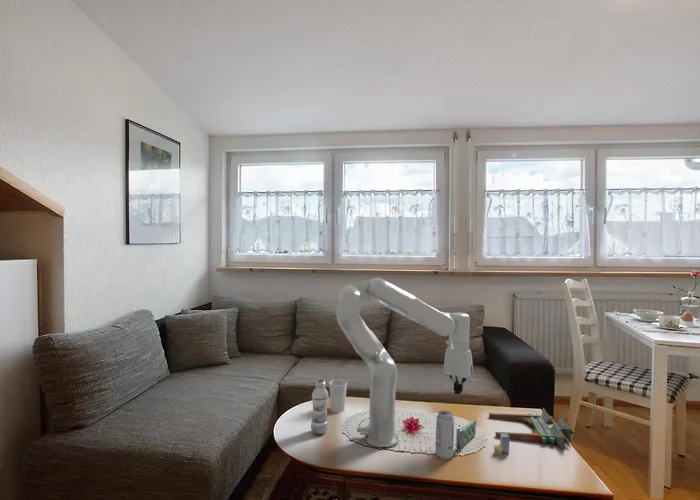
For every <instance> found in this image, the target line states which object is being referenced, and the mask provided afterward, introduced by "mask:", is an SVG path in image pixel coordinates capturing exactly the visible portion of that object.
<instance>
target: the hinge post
mask: <svg viewBox="0 0 700 500" xmlns="http://www.w3.org/2000/svg"><path fill="white" fill-rule="evenodd" d="M462 429H463V428H457V429H456V437H455V438H456V439H455V440H456V442H455V443H456V444H455V445H456V446H455V449H456V448H457V449H459V450H461V449H462V450H463V447H464V446H463V430H462ZM462 446H463V447H462Z"/></svg>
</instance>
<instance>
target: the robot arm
mask: <svg viewBox="0 0 700 500" xmlns="http://www.w3.org/2000/svg"><path fill="white" fill-rule="evenodd" d="M338 300H339V301H338V304H337V307H336V320H337V324H338V325H339V327H340V329H341V330H342V332H343V333H344V335H345V337H346V338H347V340H348V341H349V342H350V344H351V345H352V347H353V349H354V351H355V352H356V354H357V355H359V356H360V358H361V359H362V360H363V362H364V363H365V365H366V366H367V367H368V369H369V371H370V388H369V412H368V413H369V421H368V422H369V423H368V425H367V426H366V425H365V426H357V428H356V429H357V430H356V431H357V433H359V434H360V435H361V436H362V435H364V441H365V442H366V443H367V444H368V445H370V446H373V447H375V446H376V448H380V447H387V448H391V447H390V446H392V447H394V446H395V444H396V443H397V442H398V443H399V435H398V434H397V433H395V428H396V427H395V425H396V423H395V422H396V421H395V418H396V417H395V416H396V389H397V388H396V387H397V380H398V369H397V365H396V363H395V361H394V360H393V357H391V356H390V353H388V351H387V350H386V348H385V347H384V346H383V343H382V342H381V341H380V340H379V339H378V337H377V336H376V334H375V333H374V332H373V330H371V329H370V328H369V327H368V325H367V324H366V322H365V321H364V319H363V318H362V316H361V314H360V310H361V307H362V305H363V304H364V303H368V302H372V301H375V302H377V303H378V304H381V305H382V306H384V307H386V308H388V309H390V310H392V311H394V312H396V313H397V314H400V316H403V317H405V318H407V319H408V320H410V321H413V322H415V323H417V324H419V325H421V326H423V327H424V328H426V329H429V330H431V331H432V332H434V333H436V334H437V335H439V336H442V337H448V340H447V339H446V340H445V344H447V346H448V347H446V348H445V349H446V350H445V353H444V362H443V372H444V375H445V376H447V377H448V378H449V379H450V380H451V381H452V383H453V391H454V394H455V395H461V393H462V392H463V391H464V390H463V389H464V383H465V382H471V381H473V378H474V377H473V372H474V365H473V356H472V350H471V349H470V326H471V322H470V321H471V320H470V319H471V318H470V315H469V314H467V313H465V312H460V311H459V312H445V311H439V310H438V309H436V308H434V307H432V306H431V305H429V304H427V303H426V302H424V301H422V300H421V299H419V298H418V297H416V296H415V295H414V294H412V293H409V292H408V291H406V290H404V289H402V288H401V287H398V286H396V285H394V284H393V283H391V282H389V281H387V280H385V279H383V278H381V277H374V278H370V279H366V280H363V281H359V282H356V283H351V284H348V285H345V286H343V287H342V288H341V289H340V290H339V293H338ZM398 443H397V444H398ZM397 444H396V445H397ZM393 445H394V446H393Z"/></svg>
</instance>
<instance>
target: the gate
mask: <svg viewBox="0 0 700 500" xmlns="http://www.w3.org/2000/svg"><path fill="white" fill-rule="evenodd" d="M476 426H477V421H476V419H472V420H471V421H469V423H467V424H466V425H465V426H463V428H461V429H462V430H463V447H465V445H466V444H467V442H468V443H469V441H471V440H472V439H471V438H473V437H475V436H476V429H477V427H476ZM474 435H475V436H474ZM470 439H471V440H470Z"/></svg>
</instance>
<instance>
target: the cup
mask: <svg viewBox="0 0 700 500" xmlns="http://www.w3.org/2000/svg"><path fill="white" fill-rule="evenodd" d="M328 385H329V389H328V390H329V403H330V404H329V405H330V407H329V408H330V409H329V410H330V412H332V413H336V414H337V413H338V414H339V413H344V411H345V410H346V407H345V406H346V399H347V398H346V397H347V388H348V387H347V386H348V381H346V380H345V379H344V380H343V379H332V380H330V381H329V382H328Z"/></svg>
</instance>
